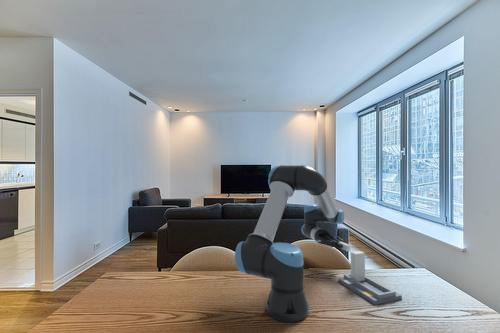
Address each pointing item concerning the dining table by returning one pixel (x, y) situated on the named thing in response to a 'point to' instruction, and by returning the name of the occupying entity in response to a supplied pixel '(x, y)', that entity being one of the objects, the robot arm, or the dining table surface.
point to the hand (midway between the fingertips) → (348, 248)
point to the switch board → (370, 289)
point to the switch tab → (358, 265)
